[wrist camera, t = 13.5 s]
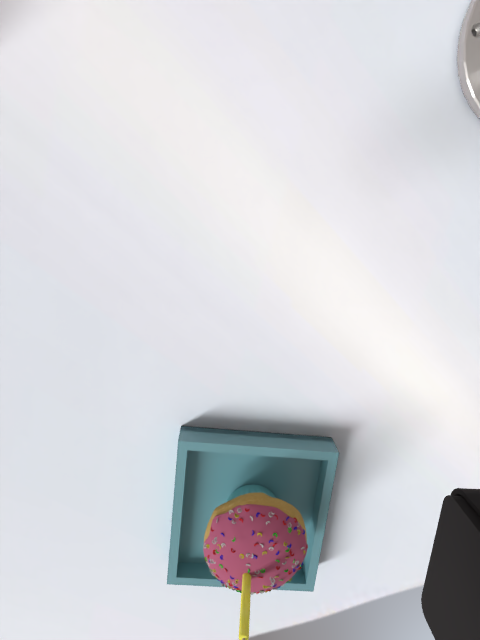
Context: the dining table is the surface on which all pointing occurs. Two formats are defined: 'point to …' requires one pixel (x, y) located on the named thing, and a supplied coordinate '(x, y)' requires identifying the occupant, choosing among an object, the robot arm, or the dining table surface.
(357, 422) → the dining table surface
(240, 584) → the cupcake
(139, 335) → the dining table surface
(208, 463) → the tray
